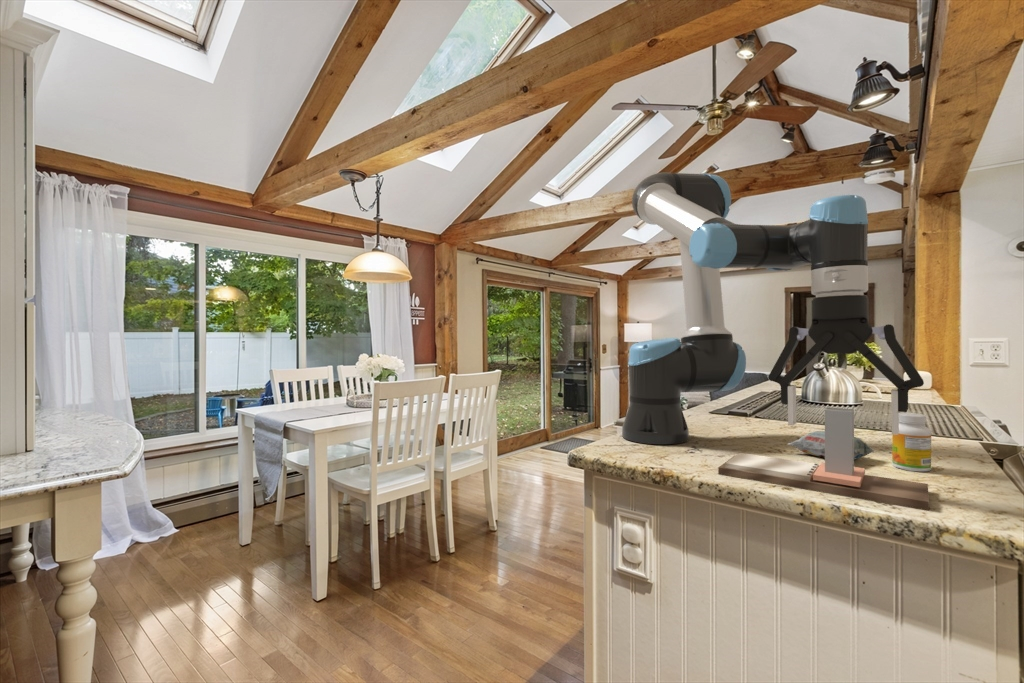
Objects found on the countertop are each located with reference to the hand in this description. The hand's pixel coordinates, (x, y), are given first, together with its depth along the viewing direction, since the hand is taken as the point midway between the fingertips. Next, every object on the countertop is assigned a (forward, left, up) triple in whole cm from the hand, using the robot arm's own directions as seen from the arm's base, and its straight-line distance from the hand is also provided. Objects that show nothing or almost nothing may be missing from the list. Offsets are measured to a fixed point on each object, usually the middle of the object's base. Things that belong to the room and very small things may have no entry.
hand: (840, 428), depth 77 cm
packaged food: (-15, +14, -10) cm, 22 cm away
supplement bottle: (-4, +21, -10) cm, 24 cm away
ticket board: (-3, -2, -9) cm, 10 cm away
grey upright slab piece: (0, 0, -8) cm, 8 cm away
